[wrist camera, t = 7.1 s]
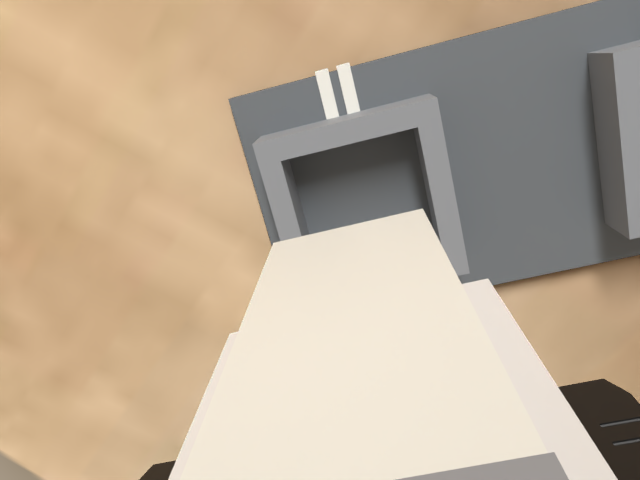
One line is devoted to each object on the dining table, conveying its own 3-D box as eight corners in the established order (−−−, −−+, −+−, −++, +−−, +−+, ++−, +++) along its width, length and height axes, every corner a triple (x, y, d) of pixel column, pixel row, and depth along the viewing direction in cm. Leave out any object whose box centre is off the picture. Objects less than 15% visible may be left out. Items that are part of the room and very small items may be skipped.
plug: (271, 241, 16) (131, 582, 6) (423, 206, 16) (584, 510, 5) (317, 399, 18) (276, 896, 7) (457, 371, 17) (634, 865, 7)
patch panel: (229, 94, 26) (214, 98, 23) (797, -57, 23) (862, -74, 20) (296, 320, 30) (290, 349, 27) (796, 216, 27) (851, 236, 24)
